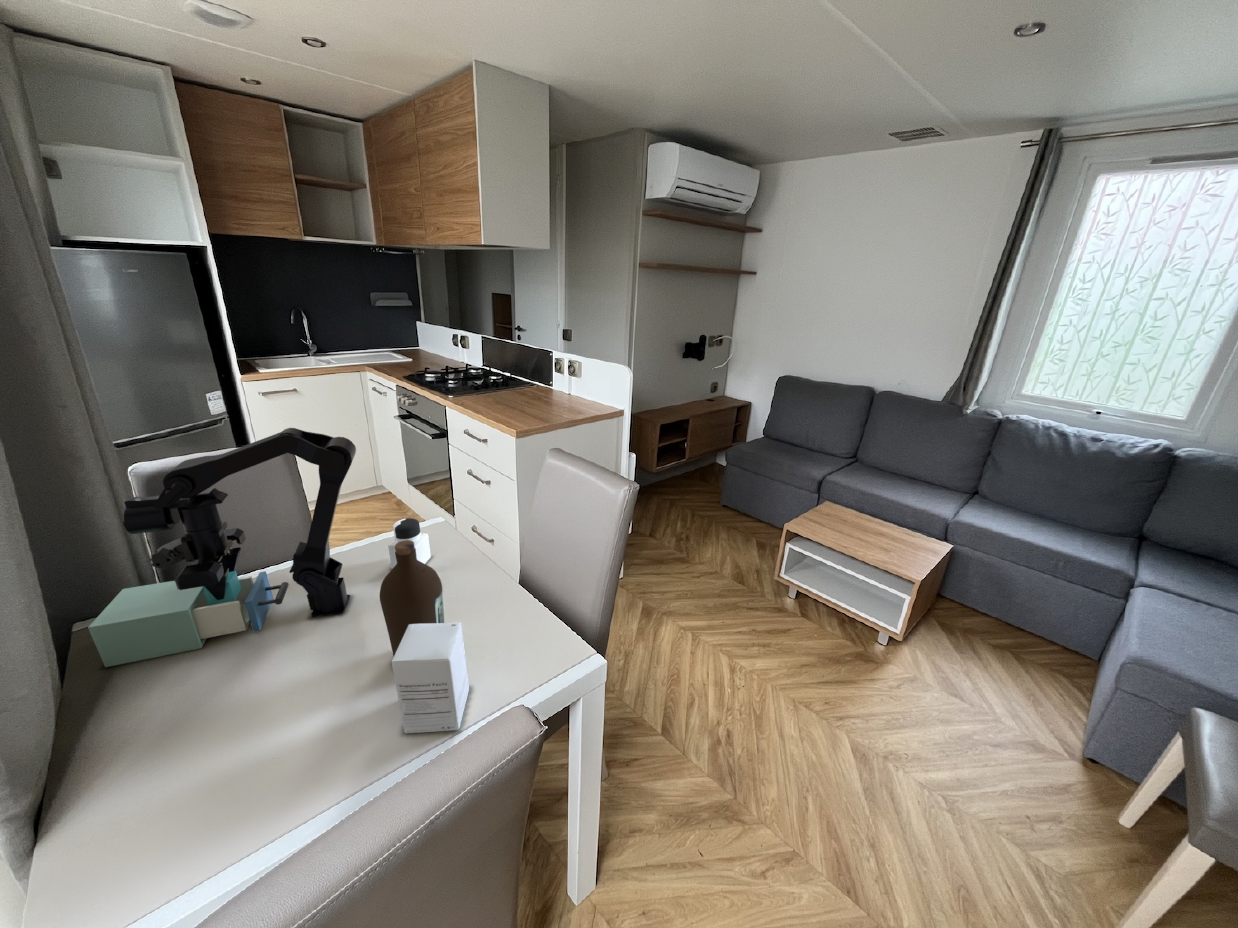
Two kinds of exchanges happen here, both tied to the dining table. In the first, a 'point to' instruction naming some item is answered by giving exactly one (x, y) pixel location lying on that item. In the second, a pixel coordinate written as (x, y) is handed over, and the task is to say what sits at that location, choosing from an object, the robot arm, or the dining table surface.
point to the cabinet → (147, 624)
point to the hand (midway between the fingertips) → (224, 592)
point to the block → (230, 592)
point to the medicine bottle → (410, 531)
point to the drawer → (238, 608)
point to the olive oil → (410, 594)
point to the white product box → (431, 677)
